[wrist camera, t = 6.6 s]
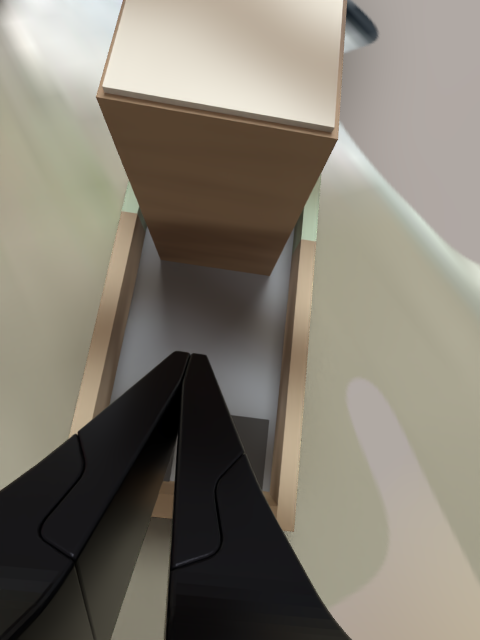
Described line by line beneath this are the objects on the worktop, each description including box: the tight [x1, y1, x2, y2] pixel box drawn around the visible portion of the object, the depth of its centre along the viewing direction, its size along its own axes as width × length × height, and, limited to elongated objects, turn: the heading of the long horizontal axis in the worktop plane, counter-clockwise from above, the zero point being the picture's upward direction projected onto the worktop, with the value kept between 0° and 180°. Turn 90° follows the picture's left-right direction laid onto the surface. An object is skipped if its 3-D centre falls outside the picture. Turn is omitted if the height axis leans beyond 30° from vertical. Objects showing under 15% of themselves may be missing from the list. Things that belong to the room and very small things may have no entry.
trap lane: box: [69, 174, 321, 532], centre depth 15 cm, size 17×9×3 cm, turn 173°
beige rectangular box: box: [96, 0, 347, 276], centre depth 12 cm, size 6×6×9 cm
